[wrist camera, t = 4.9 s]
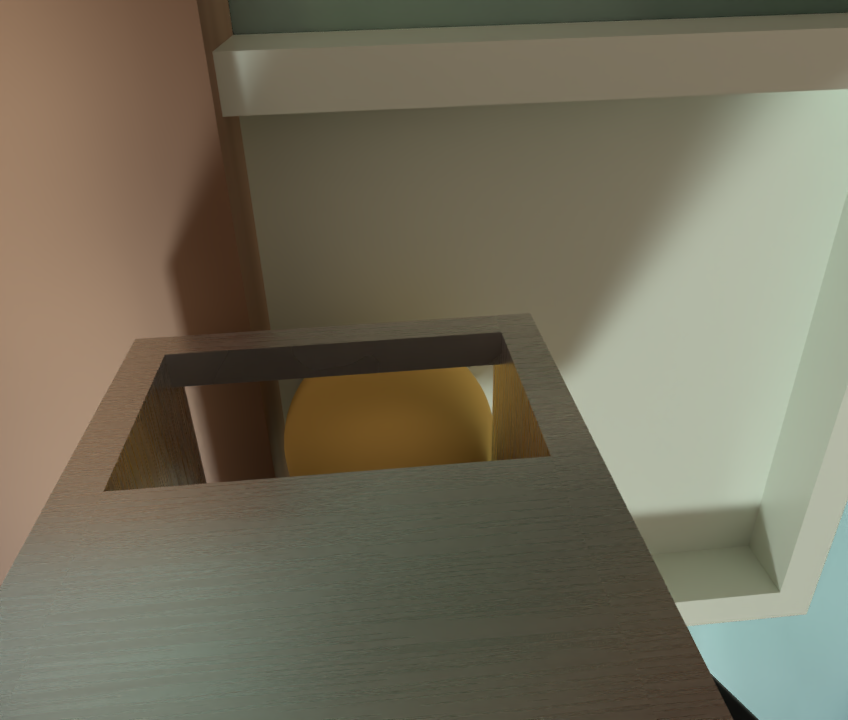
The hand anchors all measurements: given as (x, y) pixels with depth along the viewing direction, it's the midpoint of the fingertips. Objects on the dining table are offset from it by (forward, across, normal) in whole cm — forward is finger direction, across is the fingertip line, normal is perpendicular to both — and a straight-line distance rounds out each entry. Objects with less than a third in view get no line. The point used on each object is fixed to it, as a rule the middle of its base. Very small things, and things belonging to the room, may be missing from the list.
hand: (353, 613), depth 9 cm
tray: (+6, -4, 0) cm, 7 cm away
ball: (+5, -2, 0) cm, 5 cm away
